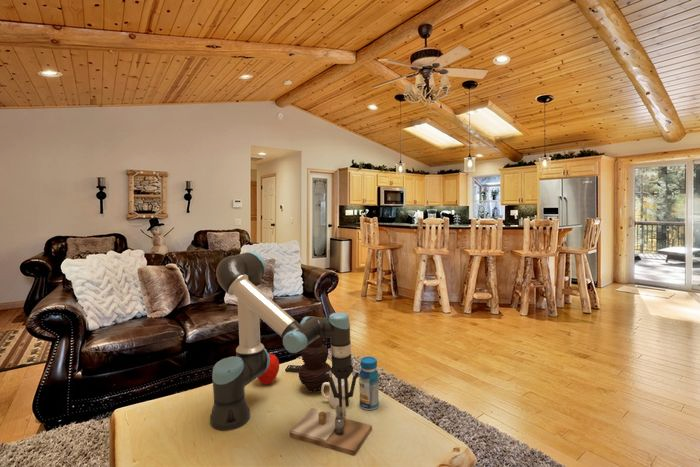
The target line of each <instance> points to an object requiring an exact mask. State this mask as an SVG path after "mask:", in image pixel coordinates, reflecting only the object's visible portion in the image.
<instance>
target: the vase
mask: <svg viewBox="0 0 700 467" xmlns="http://www.w3.org/2000/svg"><path fill="white" fill-rule="evenodd" d="M300 356H301V360H302V362H303V364H302V365H301V366H300V367H299V370H298V371H297V372H298V380H300V383H301V384H302V385H303V386H304V387H305V388H306V390H307V391H308V392H309V393H310V392H311V393H320V392H321V388H322V385H323V383H325V382H329V380H328V379H327V377H326V372H327V371H328V372H329V371H330V370H331V367H332V365H330V364H329V363H328V362H327V361H328V357H329V348H328V346H327V345H326V344H325V343H324V338H318V339H316V340H315V341H313V342H312V343H310V344H309V345H308V346H306V347H305V348H304V349H303V350H301V352H300ZM326 386H327V385H325V386H324V388H326Z"/></svg>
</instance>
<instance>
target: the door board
mask: <svg viewBox="0 0 700 467" xmlns="http://www.w3.org/2000/svg"><path fill="white" fill-rule="evenodd" d="M335 418H336V413H335V412H330V411H326V410H322V409H318V408H314V407H311V408H310V409H309V410H308V411H307V412H306V413H305V414H304V415H303V416H302V417H301V418H300V419H299V420H298V421H297V422H296V423H295V424H293V426H292V427H291V428H290V429H289V438H293V439H296V440H301V441H305V442H308V443H310V444H314V445H318V446H320V447H325V448H328V449H331V450H334V451H338V452H341V453H345V454H348V455H352V456H356V454H357V453H358V451H359V449H360V448H361V446H362V445H363V444H364V442H365V440H366V439H367V437H368V436H369V434H370V432H371V431H372V426H373V425H372V424H370V423H369V424H368V423H365V422H361V421H356V420H353V419H349V418H346V416H343V418H344V434H342V435H337V434H336V433H335Z"/></svg>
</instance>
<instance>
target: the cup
mask: <svg viewBox="0 0 700 467" xmlns="http://www.w3.org/2000/svg"><path fill="white" fill-rule="evenodd" d="M332 378H333V381H334V384H335V387H336V390H337V393H338V380H337V378H336V377H335V376H332ZM349 381H350V380H349V379H348V393H349V392H350V382H349ZM341 384H342V396H345V387H344V379H341ZM325 385H326V386H328V388H329V395H327V394H325V387H326V386H325ZM324 386H325V387H324ZM320 392H321V395H322V397H323V398H324V399H326V400H329V405H330V406H331V407H332V408H334V409H337V405H339V399H338V398H334V395H333V392H332V389H331V386H330V383H329V382H325V383H323V385H322V388H321V391H320ZM348 400H349V401H350V397H349V398H348Z"/></svg>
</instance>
